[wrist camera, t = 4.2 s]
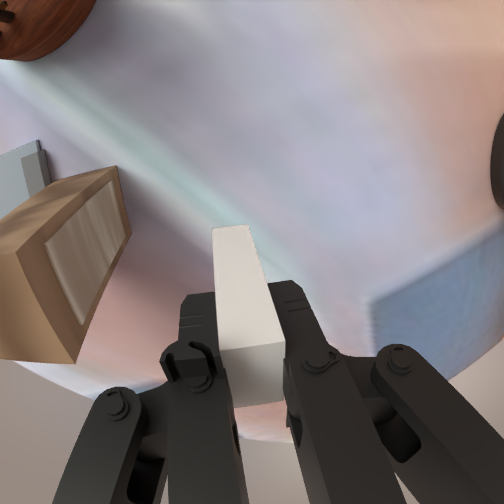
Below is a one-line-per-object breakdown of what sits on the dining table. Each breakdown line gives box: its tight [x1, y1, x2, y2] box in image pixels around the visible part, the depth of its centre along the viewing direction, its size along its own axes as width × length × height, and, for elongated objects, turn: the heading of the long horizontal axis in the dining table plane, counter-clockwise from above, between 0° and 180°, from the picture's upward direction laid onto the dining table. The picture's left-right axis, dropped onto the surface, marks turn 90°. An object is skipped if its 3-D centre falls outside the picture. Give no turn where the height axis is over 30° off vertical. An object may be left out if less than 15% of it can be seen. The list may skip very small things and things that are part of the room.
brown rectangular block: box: [0, 166, 132, 364], centre depth 15 cm, size 6×6×14 cm
